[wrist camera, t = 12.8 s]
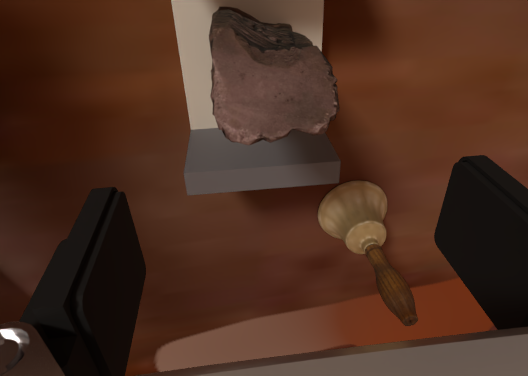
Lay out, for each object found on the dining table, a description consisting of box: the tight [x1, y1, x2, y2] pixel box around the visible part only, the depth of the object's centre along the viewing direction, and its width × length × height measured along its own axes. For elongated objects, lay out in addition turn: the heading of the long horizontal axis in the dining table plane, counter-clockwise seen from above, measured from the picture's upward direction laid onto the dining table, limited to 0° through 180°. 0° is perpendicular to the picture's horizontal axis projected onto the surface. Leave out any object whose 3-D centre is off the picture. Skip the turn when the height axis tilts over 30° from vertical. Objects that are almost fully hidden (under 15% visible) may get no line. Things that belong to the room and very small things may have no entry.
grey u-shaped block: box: [171, 0, 341, 195], centre depth 29 cm, size 20×12×10 cm, turn 2°
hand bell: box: [318, 180, 418, 326], centre depth 38 cm, size 8×8×16 cm
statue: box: [209, 7, 339, 145], centre depth 23 cm, size 7×7×20 cm
